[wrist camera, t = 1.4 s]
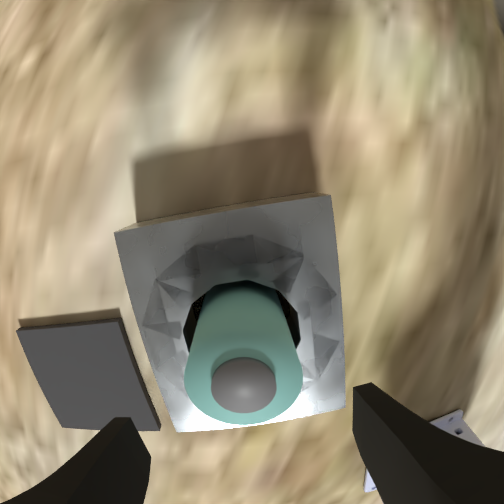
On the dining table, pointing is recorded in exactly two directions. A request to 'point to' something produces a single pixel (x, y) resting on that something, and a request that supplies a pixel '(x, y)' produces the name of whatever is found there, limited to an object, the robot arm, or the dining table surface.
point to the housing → (231, 270)
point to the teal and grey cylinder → (242, 356)
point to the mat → (88, 374)
